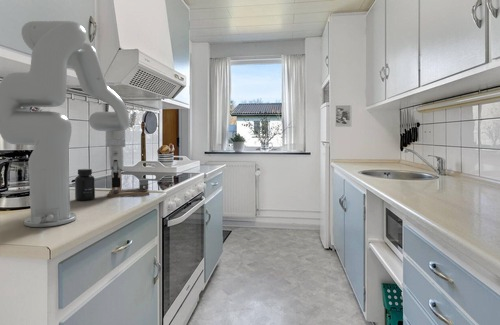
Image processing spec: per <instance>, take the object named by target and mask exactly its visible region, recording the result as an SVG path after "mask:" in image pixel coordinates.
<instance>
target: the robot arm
mask: <svg viewBox="0 0 500 325" xmlns="http://www.w3.org/2000/svg"><path fill="white" fill-rule="evenodd" d="M21 36H22V39H23V40H22V41H23V42H24V43H25V45H26V46H27V47H28V48H29V49H30V50H31V57H30V58H31V59H30V67H29V71H28V72H11V73H8V74H6V75H5V76H4V77H3V78H2V79H1V80H0V81H1V82H0V137H1V138H2V139H3V140H4V141H5V142H6V143H9V144H12V145H18V146H19V145H20V146H24V145H25V146H26V145H27V146H35V147H34V148H33V150H32V152H31V153H30V156H29V158H28V178H29V182H28V183H29V204H30V206H29V207H30V217H27V218H25V219H24V222H23V223H24V225H25V226H26V227H31V228H45V227H53V226H54V227H56V226H60V225H65V224H69V223H72V222H74V221H75V220H77V214H76V213H74V212H71V196H70V195H71V194H70V191H71V190H70V169H69V168H70V167H69V166H70V165H69V160H70V159H69V155H70V154H69V150H70V142H71V136H72V130H73V129H72V128H73V127H72V123H71V121H70V119H69V118H68V117H67V116H66V115H64V114H63V113H60V112H55V111H49V110H48V111H43V110H42V111H40V110H39V111H38V110H35V111H34V110H33V111H31V108H56V107H60V106H62V105H63V104H64V103H65V101H66V98H67V77H68V76H67V70H68V69H73V70H74V72H75V74H76V77H77V80H78V83H79V85H80V88H81V90H82V92H84V93H85V94H86V95H89V96H91V97H93V98H95V99H98V100H100V101H101V102H104V103H106V104H107V105H108V106H110V107H111V108H112V110H114V111H96V112H92V114H91V115H89V118H88V121H89V122H88V123H89V125H90V127H91V128H92V129H93V130H95V131H99V132H100V131H101V132H105V147H106V148H109V149H108V151H109V153H108V154H109V169H110V170H111V171H112V176H111V188H112V187H113V188H114V187H120V170H121V171H123V170H124V148H125V147H126V130H127V129H128V128H129V126H130V117H129V113H128V109H127V106H126V104H125V102H124V100H123V99H122V98H121V97H120V96H119V94H118V93H116V91H114V90H113V89H112V88H110V87H109V86H108V84H107V82H106V78H105V75H104V72H103V68H102V66H101V63H100V59H99V56H98V53H97V50H96V49H95V47H94V46H93V45H92V44H90V43H87V42H86V40H87V32H86V29H85V28H84V26H83V25H81V24H80V23H78V22H76V21H70V20H52V21H51V20H49V21H47V20H46V21H45V20H43V21H42V20H37V21H36V20H35V21H33V20H32V21H28V22H26V23H24V24H23V25H22V28H21Z"/></svg>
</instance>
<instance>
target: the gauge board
mask: <svg viewBox="0 0 500 325" xmlns="http://www.w3.org/2000/svg"><path fill="white" fill-rule="evenodd" d="M138 181H139V182H138V186H139V187H138V188H135V187H134V188H121V190H112V189H109V190H108V193H107V194H108V195H107V196H108V198H116V197H118V198H119V196H121V197H136V196H150V189H149V179H148V178H139V180H138Z"/></svg>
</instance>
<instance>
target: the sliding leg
mask: <svg viewBox="0 0 500 325" xmlns="http://www.w3.org/2000/svg"><path fill="white" fill-rule="evenodd" d="M110 177H112V170H111V176H110ZM121 189H122V170H121V169H120V187H114V188H113V187H112V186H111V190H121Z"/></svg>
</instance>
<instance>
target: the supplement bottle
mask: <svg viewBox="0 0 500 325" xmlns="http://www.w3.org/2000/svg"><path fill="white" fill-rule="evenodd" d="M95 183H96V179H95V177H94V176H93V170H92V169H91V168H79V169H77V176H75V178H74V199H75V201H77V202H87V201H93V200H95V197H96V184H95Z"/></svg>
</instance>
